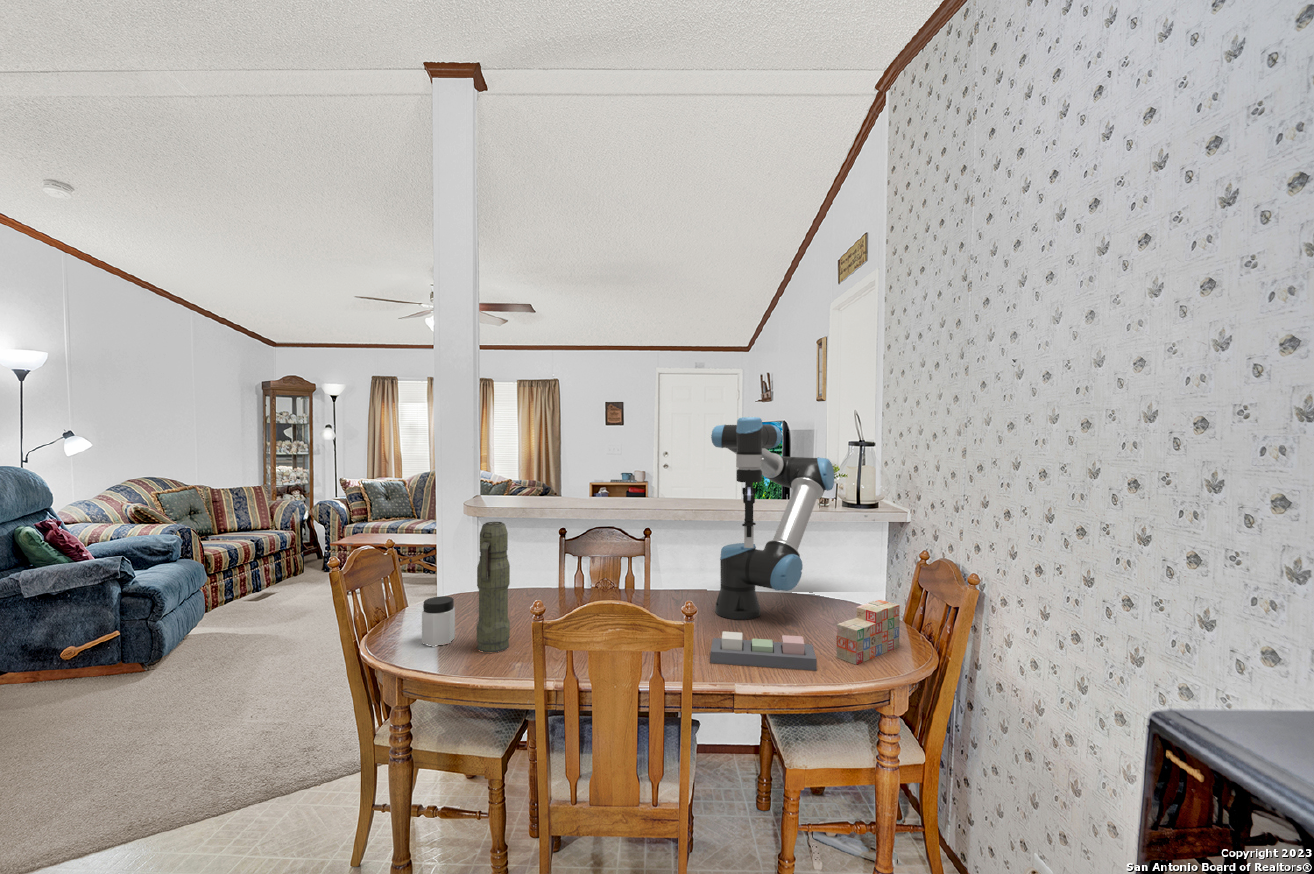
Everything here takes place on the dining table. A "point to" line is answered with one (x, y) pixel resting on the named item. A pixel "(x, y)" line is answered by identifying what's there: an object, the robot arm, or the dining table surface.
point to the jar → (438, 620)
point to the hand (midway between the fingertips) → (748, 547)
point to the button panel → (763, 656)
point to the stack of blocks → (869, 632)
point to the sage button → (762, 645)
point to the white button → (732, 641)
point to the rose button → (792, 645)
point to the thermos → (493, 588)
